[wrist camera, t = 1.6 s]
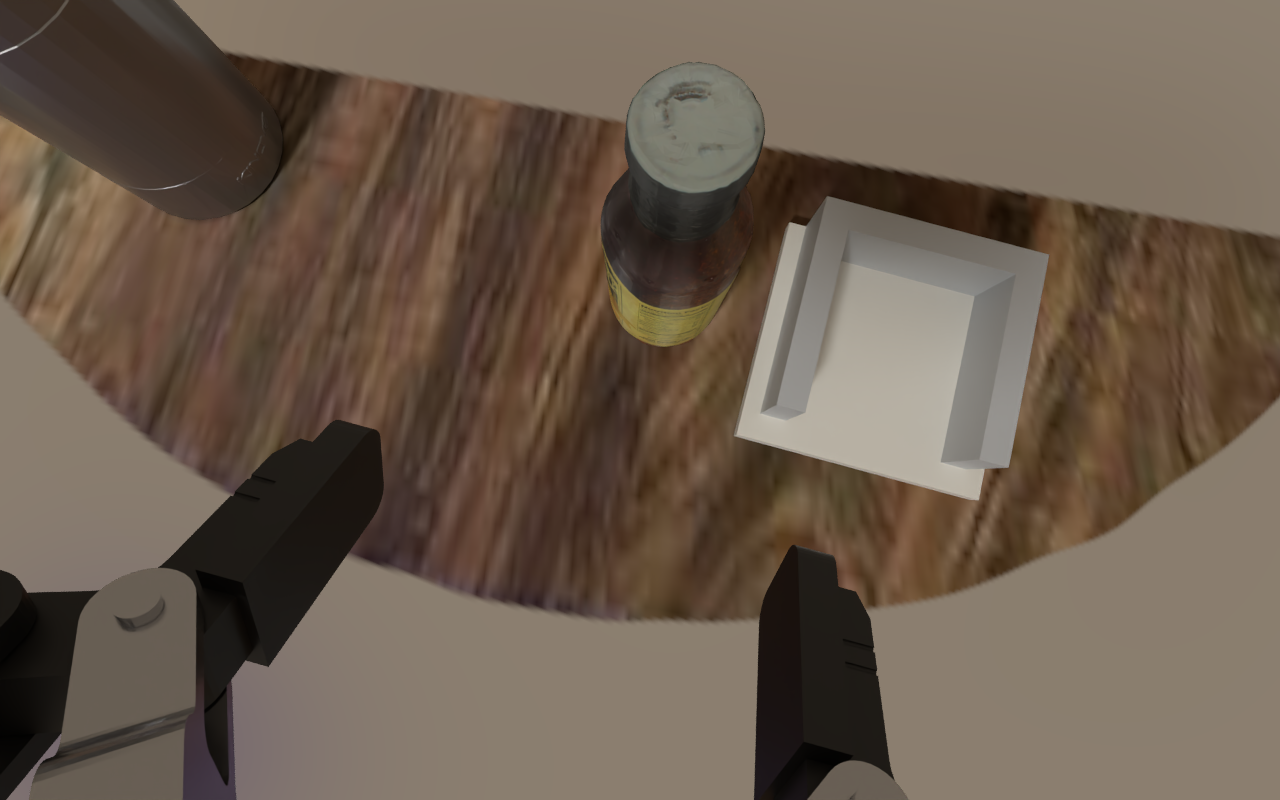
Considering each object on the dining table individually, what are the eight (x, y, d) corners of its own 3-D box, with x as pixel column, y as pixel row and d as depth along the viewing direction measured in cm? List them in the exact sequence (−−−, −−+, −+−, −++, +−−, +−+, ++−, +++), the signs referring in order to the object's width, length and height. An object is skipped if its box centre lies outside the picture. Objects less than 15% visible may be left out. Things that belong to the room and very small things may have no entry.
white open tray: (733, 435, 37) (750, 428, 32) (785, 228, 39) (808, 191, 34) (969, 499, 37) (1022, 501, 32) (1010, 288, 38) (1067, 259, 33)
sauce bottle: (634, 235, 38) (641, -28, 19) (730, 274, 38) (841, 49, 18) (592, 334, 37) (553, 167, 18) (691, 373, 37) (762, 249, 18)
